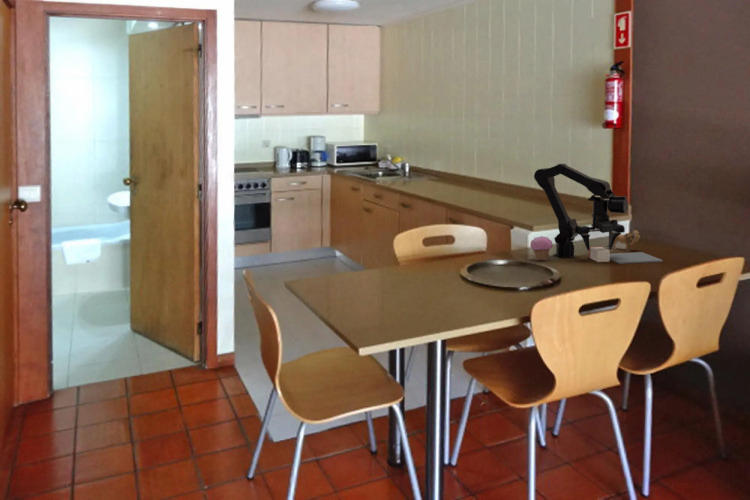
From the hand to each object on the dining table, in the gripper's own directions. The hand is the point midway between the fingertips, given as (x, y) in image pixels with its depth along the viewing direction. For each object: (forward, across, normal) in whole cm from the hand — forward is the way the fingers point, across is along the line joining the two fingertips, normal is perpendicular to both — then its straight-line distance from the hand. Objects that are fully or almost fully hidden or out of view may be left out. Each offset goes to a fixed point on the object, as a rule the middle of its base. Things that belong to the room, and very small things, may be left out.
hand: (599, 249), depth 274 cm
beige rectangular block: (+4, 0, 0) cm, 4 cm away
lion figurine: (+4, +19, +18) cm, 27 cm away
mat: (+4, +13, -1) cm, 14 cm away
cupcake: (+4, -23, +4) cm, 24 cm away
